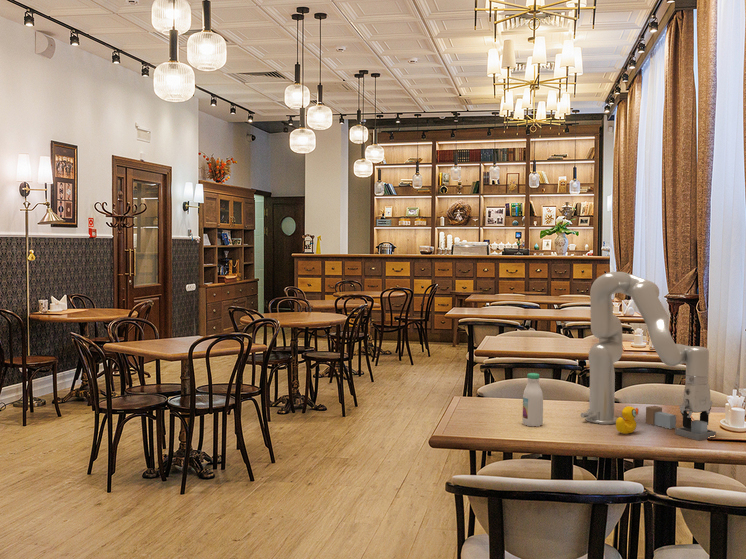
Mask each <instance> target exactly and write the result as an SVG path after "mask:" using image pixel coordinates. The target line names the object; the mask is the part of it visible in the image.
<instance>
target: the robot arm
mask: <svg viewBox="0 0 746 559" xmlns="http://www.w3.org/2000/svg"><path fill="white" fill-rule="evenodd" d="M589 291H590V293H589V294H590V295H589V296H590V297H589V298H590V299H589V300H590V303H589V304H590V332H591V334H592V336H594V337H595V338H597V339H598V342H596V343H595V344H593V345H592V346H591V347H590V349H589V352H588V364H589V400H588V402H589V403H588V404H589V406H588V407H589V408H587V411H586V412H585V411H584V412H581V413H580V417H581V418H583V419H584V420H586V421H587V422H589V423H594V424H598V423H599V424H601V425H612V424H616V420H617V418H618V417H617V416H615V390H616V389H615V388H616V387H615V386H616V382H615V381H616V380H615V379H616V374H615V365H614V364H615V363H616V362H618V361H619V360H620V359H621V357H622V355H623V350H624V349H623V325H622V322H621V319H620V318H619V317H618V316H616V315H615V314H614V312H613V311H614V303H613V299H612V296H613V295H614V294H619V293H620V294H623V295H626V296H628V297H631V298H632V300H633V302H634V305H635V306H636V308H637V310H638V312H639V313H640V315H641V317H642V319H643V321H644V323H645V326H646V329H647V332H648V335H649V338H650V342H651V344H652V346H653V348H654V350H655V352H656V354H657V356H658V358H659V359H660V361H661V362H662V363H663V364H664V365H666V366H668V367H676V366H679V365H682V364H685V385H684V390H683V397H682V398H683V401H682V403H680V405H679V411H680V414H681V417H682V427H685V428H689V429H690V428H691V425H692V417H691V416H692V415H693V413H699V420H700V421H704V422H708V424H707V426H709V418H710V417H709V416H710V414H711V412H710V411H711V410H712V405H713V401H712V400H711V398H712V397H711V390H710V389H711V388H710V384H709V370H710V368H709V365H710V350H709V349H708V348H707V347H704V346H698V345H697V346H695V345H694V346H690V345H687V344H680V343H675V341H674V339H673V337H672V335H671V333H670V332H671V331H670V327H669V319H670V318H669V315H668V313H667V311H666V309H665V308H664V305H663V304H662V302H661V300H660V298H659V296H660V288H659V287H658V285H657V284H656V283H655V282H653V281H650V280H648V279H645V278H642V277H639V276H636V275H634V274H631V273H629V272H628V273H627V272H624V271H609V272H605V273H603V274H602V275H600V276H598V277H597V278H596V279H594V281H593V283H592V284H591V287H590V290H589ZM599 424H598V425H599Z"/></svg>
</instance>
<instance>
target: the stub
mask: <svg viewBox="0 0 746 559" xmlns="http://www.w3.org/2000/svg"><path fill="white" fill-rule="evenodd" d="M707 424H708V425H709V421H708V422H704V421H700V419H694V420H691V432H692V433H695V434H702V433H707V429H708V425H707Z"/></svg>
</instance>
